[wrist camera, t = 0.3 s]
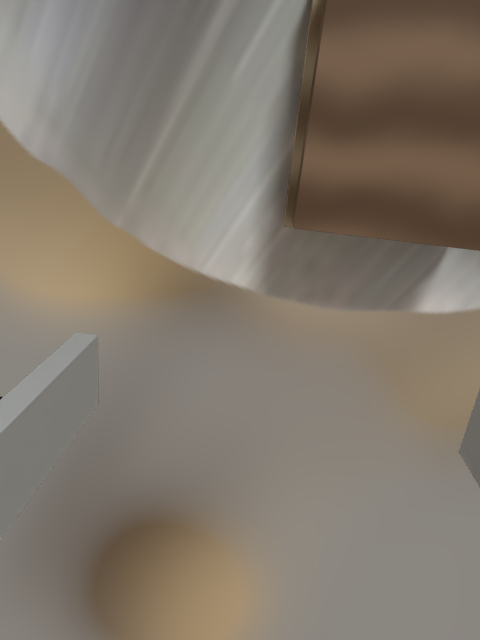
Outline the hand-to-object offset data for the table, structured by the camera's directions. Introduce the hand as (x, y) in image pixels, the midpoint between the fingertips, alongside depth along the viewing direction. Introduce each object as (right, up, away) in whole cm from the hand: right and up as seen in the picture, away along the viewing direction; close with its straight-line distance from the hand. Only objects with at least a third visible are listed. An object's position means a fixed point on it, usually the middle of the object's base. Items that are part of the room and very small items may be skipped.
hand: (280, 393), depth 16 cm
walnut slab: (+11, +18, +18) cm, 28 cm away
